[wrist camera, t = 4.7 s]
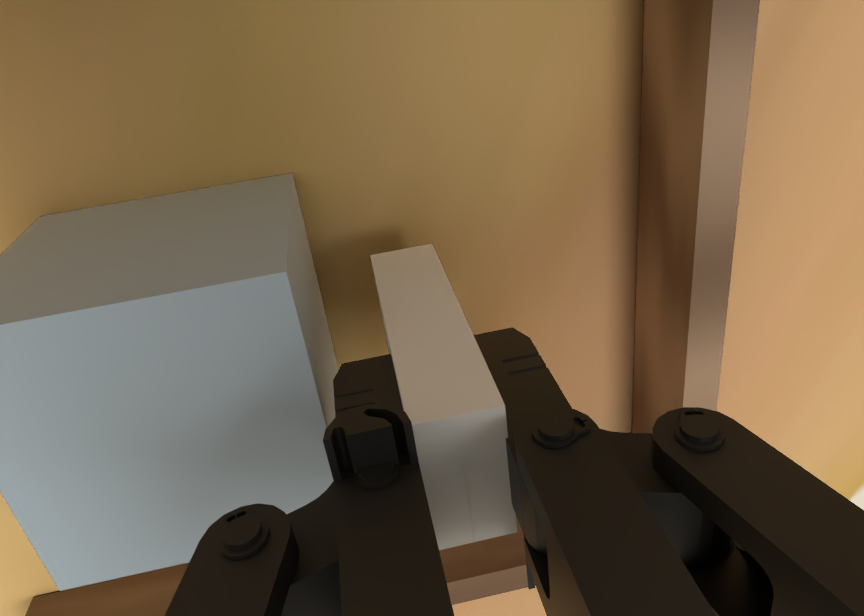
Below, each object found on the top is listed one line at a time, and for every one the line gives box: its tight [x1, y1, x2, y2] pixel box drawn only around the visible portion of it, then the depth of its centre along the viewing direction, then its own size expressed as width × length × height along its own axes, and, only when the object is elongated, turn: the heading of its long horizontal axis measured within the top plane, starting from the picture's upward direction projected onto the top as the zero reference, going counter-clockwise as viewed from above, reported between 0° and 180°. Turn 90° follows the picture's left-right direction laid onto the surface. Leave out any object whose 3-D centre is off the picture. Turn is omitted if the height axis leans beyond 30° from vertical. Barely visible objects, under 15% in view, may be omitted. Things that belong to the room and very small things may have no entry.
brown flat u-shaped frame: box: [25, 0, 760, 616], centre depth 16 cm, size 20×21×3 cm
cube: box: [0, 173, 339, 591], centre depth 15 cm, size 6×6×6 cm
